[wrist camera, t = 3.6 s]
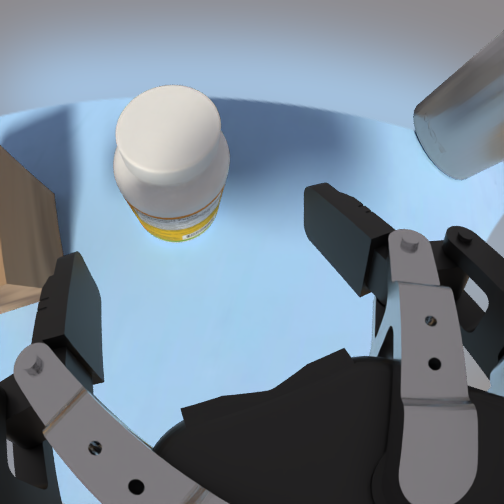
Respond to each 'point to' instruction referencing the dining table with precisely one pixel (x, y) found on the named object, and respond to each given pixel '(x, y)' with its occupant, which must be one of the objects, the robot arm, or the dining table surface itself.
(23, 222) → the walnut block
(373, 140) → the dining table surface
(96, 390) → the dining table surface
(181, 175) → the supplement bottle
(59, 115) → the dining table surface
